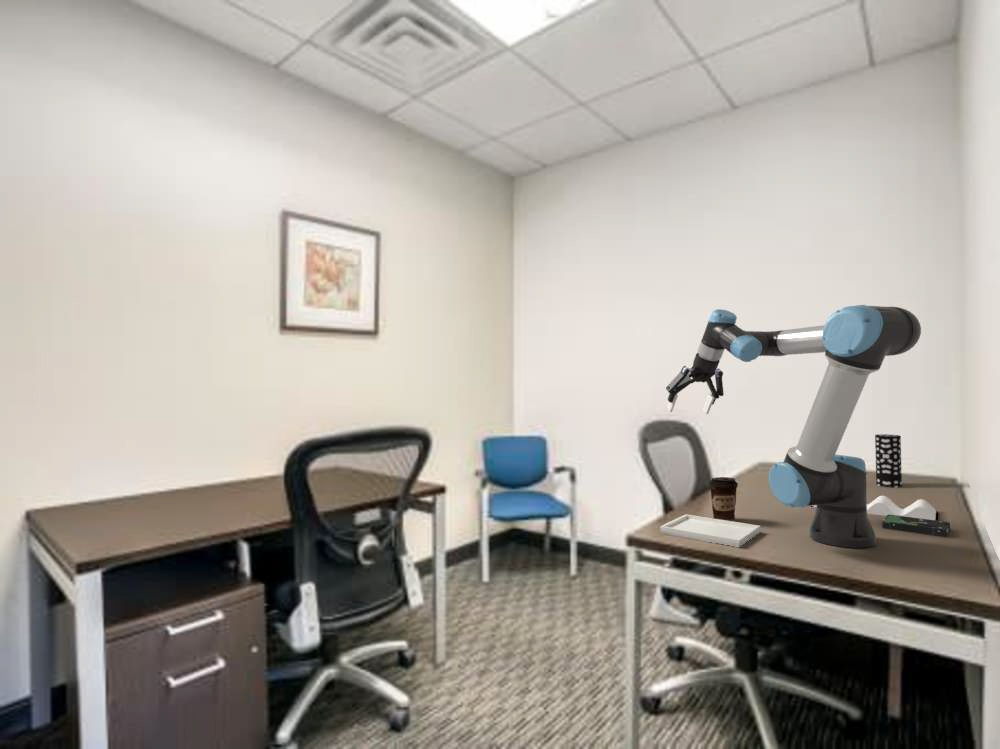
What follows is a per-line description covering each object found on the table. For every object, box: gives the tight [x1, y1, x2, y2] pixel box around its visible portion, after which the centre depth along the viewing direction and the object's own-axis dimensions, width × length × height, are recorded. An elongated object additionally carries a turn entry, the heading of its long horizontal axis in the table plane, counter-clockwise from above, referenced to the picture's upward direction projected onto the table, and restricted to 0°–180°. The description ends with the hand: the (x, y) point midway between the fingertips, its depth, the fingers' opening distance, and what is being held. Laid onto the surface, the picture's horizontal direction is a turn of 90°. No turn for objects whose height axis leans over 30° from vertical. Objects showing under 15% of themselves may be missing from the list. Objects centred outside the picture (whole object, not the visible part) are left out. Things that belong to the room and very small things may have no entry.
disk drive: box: [881, 514, 951, 538], centre depth 158 cm, size 10×3×15 cm
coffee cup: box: [708, 476, 739, 522], centre depth 172 cm, size 9×8×13 cm
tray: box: [659, 513, 762, 548], centre depth 158 cm, size 22×18×2 cm
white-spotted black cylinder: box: [874, 433, 903, 489], centre depth 219 cm, size 8×8×20 cm
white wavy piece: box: [812, 495, 940, 521], centre depth 181 cm, size 13×35×5 cm, turn 51°
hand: (687, 410), depth 188 cm, fingers open, 13 cm apart
